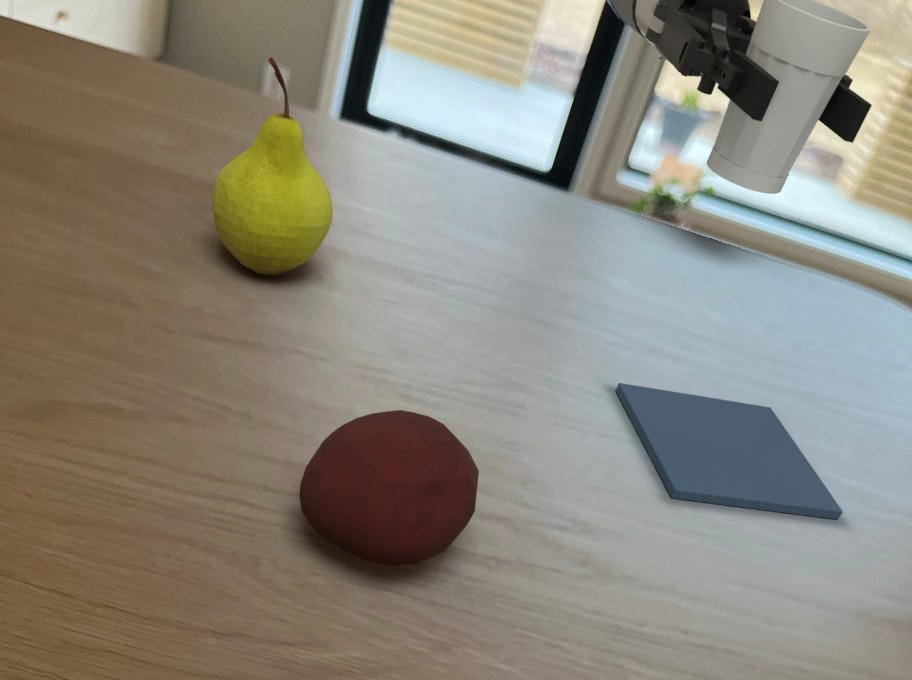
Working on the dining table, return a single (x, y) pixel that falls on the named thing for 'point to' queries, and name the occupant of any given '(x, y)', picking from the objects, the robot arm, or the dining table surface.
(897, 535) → the dining table surface
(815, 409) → the dining table surface
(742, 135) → the cup
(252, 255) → the fruit
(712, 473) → the mat
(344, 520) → the potato
